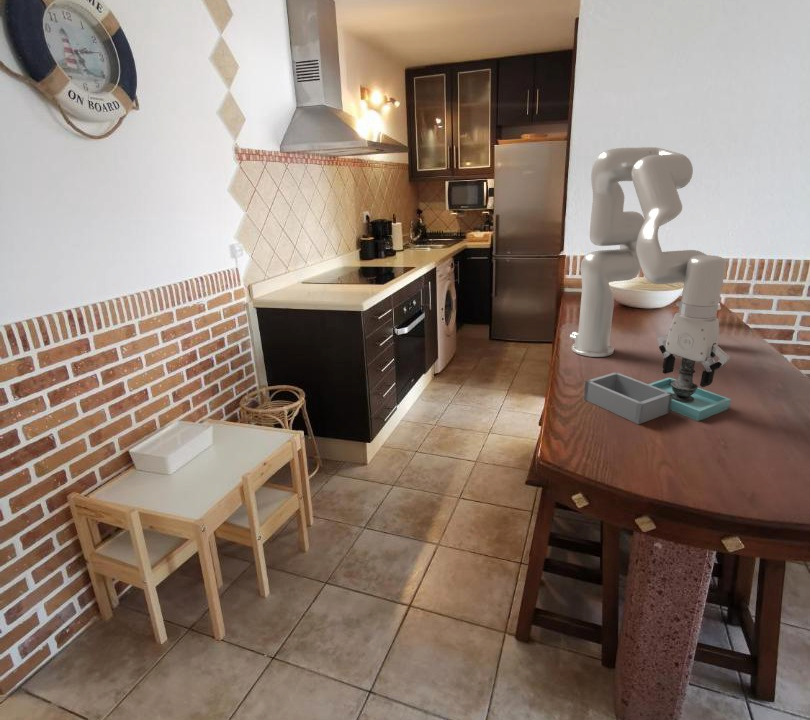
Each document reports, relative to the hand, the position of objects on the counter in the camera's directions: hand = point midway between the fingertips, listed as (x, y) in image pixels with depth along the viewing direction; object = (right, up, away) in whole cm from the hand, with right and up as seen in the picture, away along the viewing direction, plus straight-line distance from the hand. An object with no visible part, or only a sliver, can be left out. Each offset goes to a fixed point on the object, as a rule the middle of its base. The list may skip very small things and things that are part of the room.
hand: (685, 378), depth 120 cm
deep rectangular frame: (-14, -7, +1) cm, 16 cm away
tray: (0, -6, +2) cm, 6 cm away
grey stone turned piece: (0, -5, +2) cm, 5 cm away
